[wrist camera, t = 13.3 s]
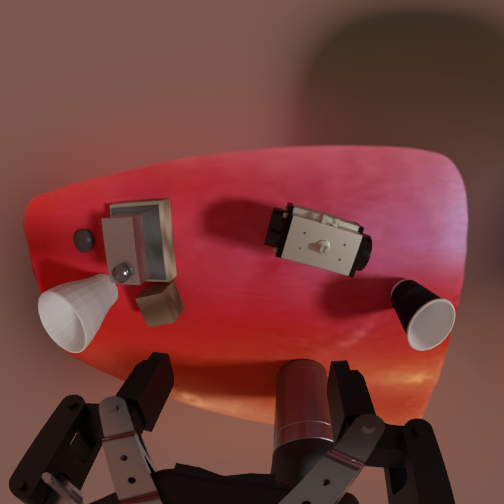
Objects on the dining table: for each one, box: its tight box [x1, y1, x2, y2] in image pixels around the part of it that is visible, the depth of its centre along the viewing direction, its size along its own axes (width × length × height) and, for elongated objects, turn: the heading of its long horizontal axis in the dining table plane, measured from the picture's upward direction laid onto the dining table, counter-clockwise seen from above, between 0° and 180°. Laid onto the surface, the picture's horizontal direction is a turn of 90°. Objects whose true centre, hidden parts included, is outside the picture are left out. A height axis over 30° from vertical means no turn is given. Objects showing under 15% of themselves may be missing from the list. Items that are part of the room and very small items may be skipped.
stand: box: [110, 198, 177, 282], centre depth 39 cm, size 12×9×3 cm
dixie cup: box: [391, 279, 455, 351], centre depth 34 cm, size 8×8×11 cm
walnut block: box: [135, 280, 184, 327], centre depth 41 cm, size 5×5×5 cm
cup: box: [38, 273, 118, 353], centre depth 38 cm, size 10×10×14 cm
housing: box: [101, 211, 155, 285], centre depth 35 cm, size 9×5×6 cm, turn 0°
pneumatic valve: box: [264, 202, 372, 277], centre depth 32 cm, size 6×12×12 cm, turn 76°
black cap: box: [74, 229, 95, 253], centre depth 42 cm, size 4×4×2 cm
